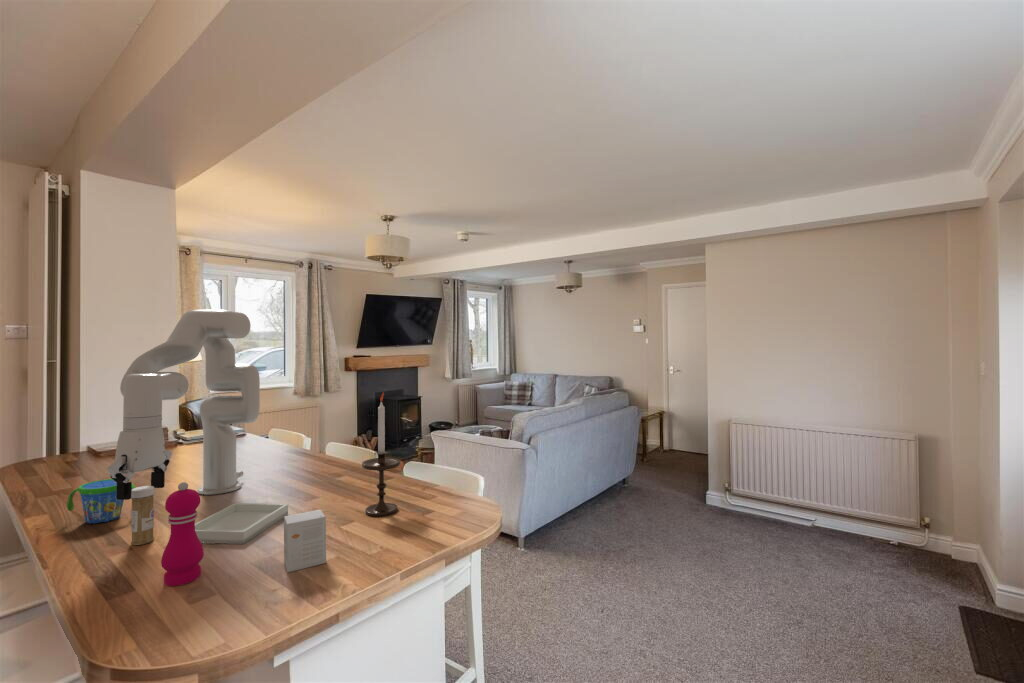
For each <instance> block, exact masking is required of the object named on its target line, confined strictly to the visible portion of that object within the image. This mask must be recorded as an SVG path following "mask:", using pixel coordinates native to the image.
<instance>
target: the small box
mask: <svg viewBox="0 0 1024 683" xmlns="http://www.w3.org/2000/svg"><path fill="white" fill-rule="evenodd" d="M326 528H327V520H326V516H325V514H324V512H323V511H322V510H321V509H316V510H311V511H305V512H300V513H295V514H291V515H289V514H288V515H287V516H284V518H283V551H284V552H283V557H284V558H283V563H284V566H285V569H286V573H292V572H295V571H300V570H303V569H308V568H312V567H316V566H319V565H323V564H326V563H327V539H326V538H327V536H326V535H327V533H326V532H327V529H326Z"/></svg>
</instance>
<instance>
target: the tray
mask: <svg viewBox="0 0 1024 683" xmlns="http://www.w3.org/2000/svg"><path fill="white" fill-rule="evenodd" d="M284 516H289V504H288V503H237V502H236V503H232V504H230V505H229V506H226V507H225V508H222V509H221V510H218V511H216V512H214V513H213V514H211V515H209V516H206V517H205V518H204V519H201V520H200V521H198V522H195V531H196V534H197V536H198V538H199V540H200V542H204V543H203V544H210V543H226V544H225V545H245V544H246V543H247V542H249V541H251V540H252V539H254V538H255V537H257V536H258V535H260V534H262V533H263V532H264V531H266V530H268V529H269V528H271V527H272V526H273V525H275V524H276V523H278V522H279V521H281V520H282V519H284ZM227 543H228V544H227Z"/></svg>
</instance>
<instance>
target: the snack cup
mask: <svg viewBox="0 0 1024 683" xmlns="http://www.w3.org/2000/svg"><path fill="white" fill-rule="evenodd" d="M134 488H137V487H136V485H135V484H134V483H132V489H134ZM76 492H78V493H79V495H80V500H81V507H82V512H83V518H84V521H85V522H86V523H87V524H89V525H90V524H91V523H92V524H99V523H107V522H109V521H110V520H111V521H114V520H116V519H119V518H120V517H121V515H122V511H123V507H124V506H123V505H124V503H125V502H124V501H125V500H117V498H116V494H117V483H114V480H113V479H112V478H108V479H107V478H106V479H100V480H94V481H91V482H86V483H83V484H81V485H79V486H78V488H75V489H73V491H71V492H70V493H69V495H68V497H67V501H66V508H67V511H69V512H73V510H74V509H75V504H74V501H73V498H74V496H75V493H76ZM111 521H110V522H111Z"/></svg>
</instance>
